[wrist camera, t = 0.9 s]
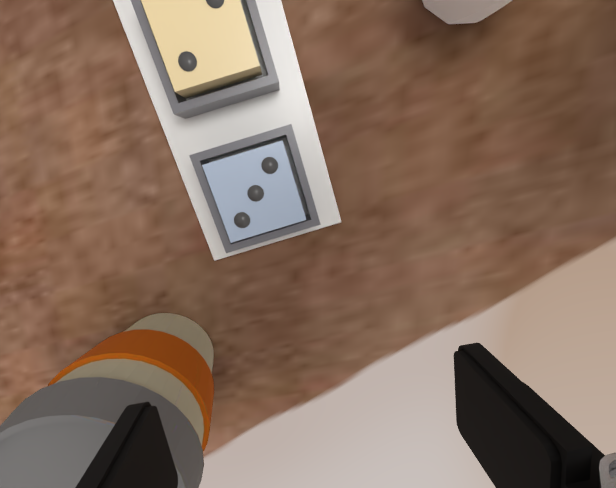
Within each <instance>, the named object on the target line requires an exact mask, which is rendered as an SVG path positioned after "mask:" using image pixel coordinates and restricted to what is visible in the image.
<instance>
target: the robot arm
mask: <svg viewBox="0 0 616 488" xmlns="http://www.w3.org/2000/svg"><path fill="white" fill-rule="evenodd" d="M454 371H455V395H456V417H457V426H458V429H459V431H460V433H461V435H462V437H463V438H464V440H465V441H466V443H467V444H468V446H469V447H470V449H471V450H472V452H473V453H474V455H475V457H476V458H477V459H478V461H479V463H480V464H481V466H482V467H483V469H484V470H485V472H486V473H487V475H488V476H489V478H490V479H491V481H492V482H493V484H494V485H495V487H496V488H616V453H612V454H608V455H604V454H603V453H601V452H600V451H599V450H598V449H597V448H596V447H595V446H594V445H593V444H592V443H590V442H589V441H588V440H587V439H586V438H585V437H584V436H583V435H582V434H581V433H579V432H578V431H577V430H576V429H575V428H574V427H573V426H572V425H571V424H570V423H568V422H567V421H566V420H565V419H564V418H563V417H562V416H561V415H560V414H558V413H557V412H556V411H555V410H554V409H553V408H552V407H551V406H550V405H549V404H548V403H546V402H545V401H544V400H543V399H542V398H541V397H540V396H539V395H537V393H535V392H534V391H533V390H532V389H531V388H530V387H529V386H528V385H526V384H525V383H523V382H521V381H520V380H519V379H518V378H517V377H516V376H515V375H514V374H513V373H512V372H511V371H510V370H508V369H507V368H506V367H505V366H504V365H503V364H502V363H501V362H500V361H498V359H496V358H495V357H494V356H493V355H492V354H491V353H490V352H489V351H488V350H487V349H486V348H484V347H483V346H482V345H481V344H480V343H473V344H467V345H461V346H459V348H458V351H456V352H455V353H454ZM177 487H178V474H177V471H176V467H175V464H174V461H173V458H172V454H171V451H170V448H169V445H168V442H167V438H166V435H165V432H164V429H163V425H162V422H161V419H160V416H159V412H158V409H157V407H156V406H151V404H150V403H149V402H142V403H137V404H131V405H128V406H127V407H126V408H125V409H124V411H123V412H122V414H121V416H120V417H119V419H118V420H117V422H116V424H115V425H114V427H113V428H112V430H111V432H110V433H109V435H108V436H107V438H106V440H105V441H104V443H103V444H102V446H101V448H100V449H99V451H98V452H97V454H96V456H95V457H94V459H93V460H92V462H91V463H90V465H89V467H88V468H87V470H86V471H85V473H84V475H83V476H82V478H81V479H80V481H79V483H78V484H77V486H76V487H75V488H177Z"/></svg>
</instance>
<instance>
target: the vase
mask: <svg viewBox="0 0 616 488" xmlns="http://www.w3.org/2000/svg"><path fill="white" fill-rule="evenodd" d="M511 1H512V0H422V2H423V4H424V7H425V8H426V9H428V10H429V11H430V12H432V13H433V14H435V15H436V16H437V17H439V18H440V19H442V20H443V21H444V22H446V23H447V24H465V23H477V22H479V21H481V20H483V19H485V18H486V17H488V16H489V15H491V14H493V13H494V12H496V11H497V10H499V9H500V8H502V7H503V6H505V5H506V4H508V3H509V2H511Z"/></svg>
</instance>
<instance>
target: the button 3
mask: <svg viewBox="0 0 616 488" xmlns="http://www.w3.org/2000/svg"><path fill="white" fill-rule="evenodd" d="M202 167H203V169H204V172H205V175H206V177H207V180H208V183H209V185H210V188H211V191H212V194H213V196H214V199H215V202H216V204H217V207H218V210H219V212H220V215H221V218H222V221H223V223H224V226H225V229H226V231H227V234H228V237H229V240H230V242H231V243H232V242H235V241H239V240H242V239H245V238H248V237H252V236H255V235H258V234H262V233H265V232H268V231H271V230H275V229H278V228H281V227H285V226H288V225H291V224H294V223H298V222H301V221H304V220H306V217H305V213H304V210H303V207H302V203H301V200H300V197H299V194H298V190H297V187H296V184H295V180H294V177H293V174H292V170H291V167H290V164H289V160H288V157H287V154H286V150H285V147H284V144H283V140H282V141H279V142H275V143H272V144H269V145H265V146H262V147H259V148H256V149H252V150H249V151H246V152H243V153H239V154H236V155H233V156H230V157H226V158H223V159H220V160H217V161H213V162H210V163H207V164H204V165H202Z"/></svg>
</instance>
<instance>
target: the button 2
mask: <svg viewBox="0 0 616 488" xmlns="http://www.w3.org/2000/svg"><path fill="white" fill-rule="evenodd" d="M141 2H142V4H143V7H144V10H145V13H146V15H147V18H148V21H149V23H150V26H151V29H152V31H153V34H154V37H155V40H156V42H157V45H158V48H159V50H160V53H161V56H162V58H163V61H164V64H165V67H166V69H167V72H168V75H169V77H170V80H171V83H172V85H173V88H174V91H175V92H176V93H178V94H179V95H181V96H183V97H184V98H188V97H191V96H194V95H198V94H201V93H204V92H207V91H211V90H214V89H217V88H220V87H224V86H227V85H230V84H233V83H236V82H240V81H243V80H246V79H249V78H253V77H256V76H259V75H262V71H261V68H260V64H259V61H258V57H257V54H256V51H255V47H254V44H253V41H252V38H251V34H250V31H249V28H248V24H247V21H246V18H245V14H244V11H243V8H242V4H241V1H240V0H141Z"/></svg>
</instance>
